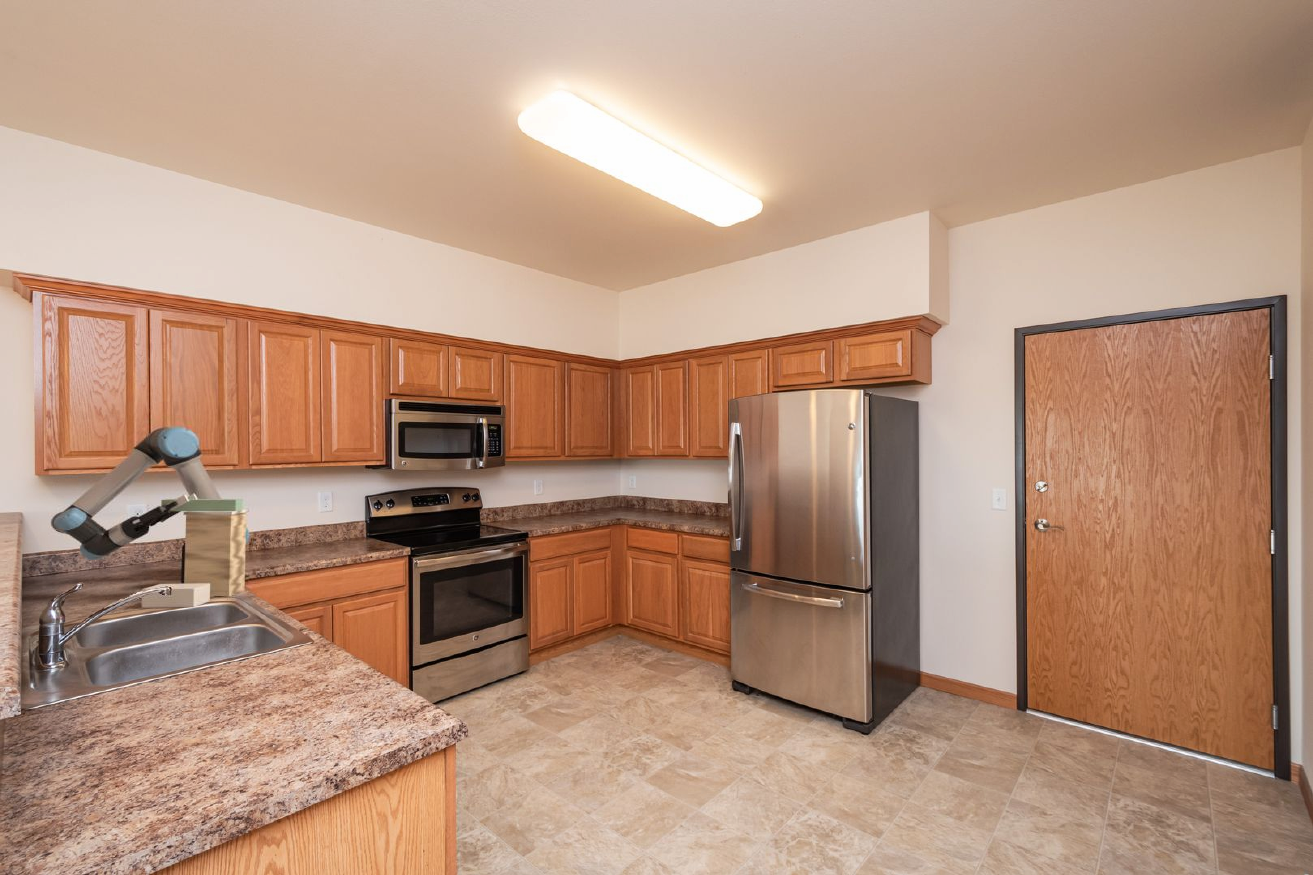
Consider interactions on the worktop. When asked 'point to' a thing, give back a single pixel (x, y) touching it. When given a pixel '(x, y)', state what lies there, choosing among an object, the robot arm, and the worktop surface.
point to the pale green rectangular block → (208, 505)
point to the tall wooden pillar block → (216, 550)
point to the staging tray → (178, 596)
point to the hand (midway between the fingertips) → (191, 497)
